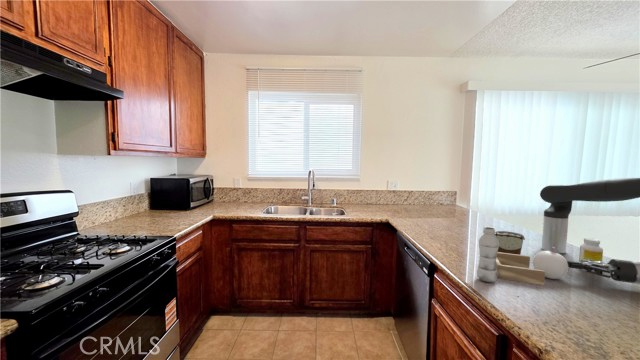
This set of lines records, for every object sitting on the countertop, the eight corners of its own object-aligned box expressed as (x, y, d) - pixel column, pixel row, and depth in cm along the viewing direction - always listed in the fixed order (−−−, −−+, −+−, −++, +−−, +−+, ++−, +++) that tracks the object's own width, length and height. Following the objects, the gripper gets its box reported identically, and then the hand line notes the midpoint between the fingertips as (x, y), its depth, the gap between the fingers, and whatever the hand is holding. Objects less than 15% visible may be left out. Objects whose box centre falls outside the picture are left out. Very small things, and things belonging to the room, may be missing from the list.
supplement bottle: (606, 273, 104) (608, 242, 103) (586, 272, 106) (589, 241, 105) (592, 267, 111) (594, 237, 110) (574, 266, 112) (576, 236, 111)
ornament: (567, 277, 101) (569, 247, 100) (567, 286, 94) (569, 253, 93) (533, 269, 108) (535, 241, 107) (530, 277, 101) (532, 247, 100)
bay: (489, 262, 116) (489, 251, 116) (528, 267, 111) (529, 255, 110) (497, 277, 101) (498, 265, 100) (544, 285, 95) (544, 271, 94)
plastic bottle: (472, 277, 101) (474, 226, 100) (488, 276, 102) (491, 226, 100) (484, 284, 95) (486, 230, 93) (501, 284, 95) (504, 230, 94)
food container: (522, 253, 128) (523, 233, 127) (524, 256, 123) (525, 236, 122) (492, 248, 135) (493, 229, 134) (492, 252, 130) (493, 232, 129)
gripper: (619, 255, 97) (560, 248, 104) (646, 268, 85) (577, 260, 92) (618, 274, 98) (559, 267, 105) (644, 290, 86) (575, 280, 93)
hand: (567, 264), depth 98 cm, fingers closed
